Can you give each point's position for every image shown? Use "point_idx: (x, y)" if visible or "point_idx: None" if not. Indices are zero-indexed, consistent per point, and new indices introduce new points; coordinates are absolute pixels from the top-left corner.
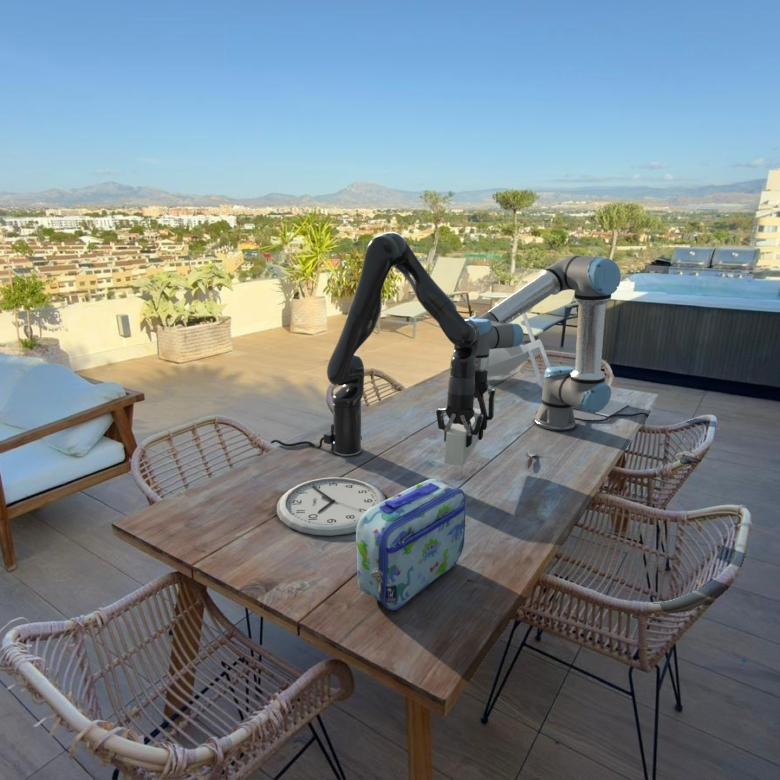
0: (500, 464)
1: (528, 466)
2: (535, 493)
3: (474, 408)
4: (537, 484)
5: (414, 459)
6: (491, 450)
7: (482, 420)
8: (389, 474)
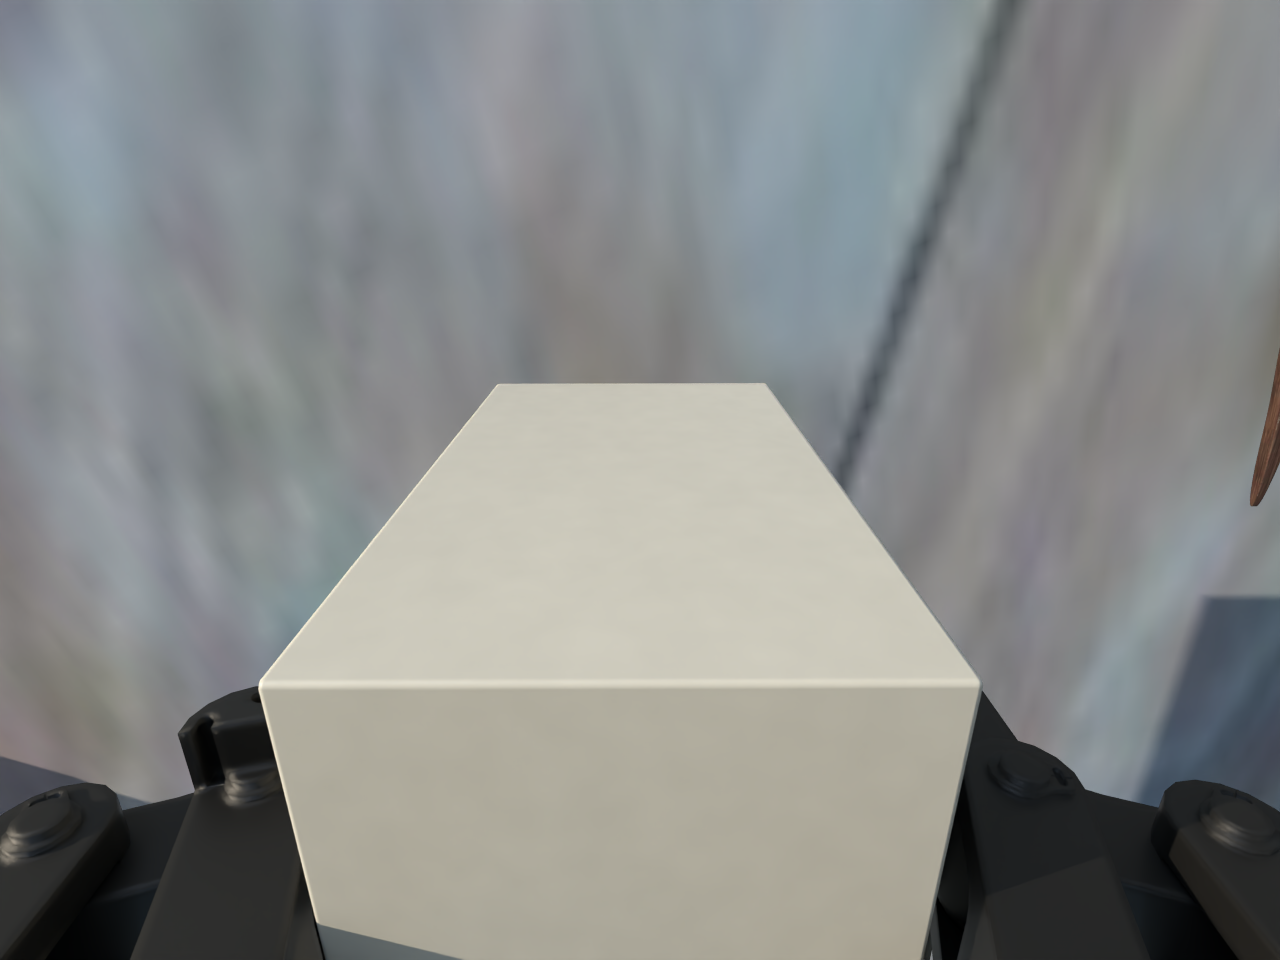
0: (965, 465)
1: (1268, 473)
2: None
3: (604, 712)
4: (1269, 705)
5: (179, 667)
6: (844, 112)
7: (929, 958)
8: None
